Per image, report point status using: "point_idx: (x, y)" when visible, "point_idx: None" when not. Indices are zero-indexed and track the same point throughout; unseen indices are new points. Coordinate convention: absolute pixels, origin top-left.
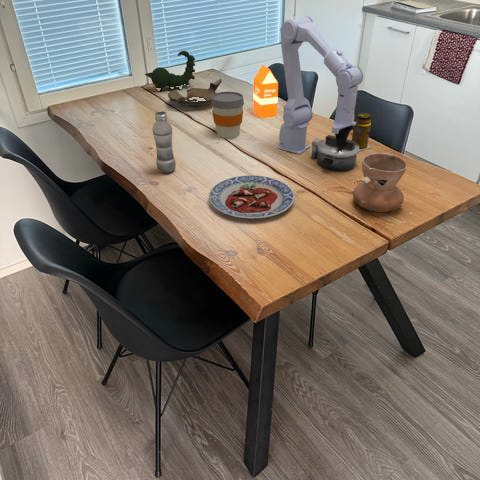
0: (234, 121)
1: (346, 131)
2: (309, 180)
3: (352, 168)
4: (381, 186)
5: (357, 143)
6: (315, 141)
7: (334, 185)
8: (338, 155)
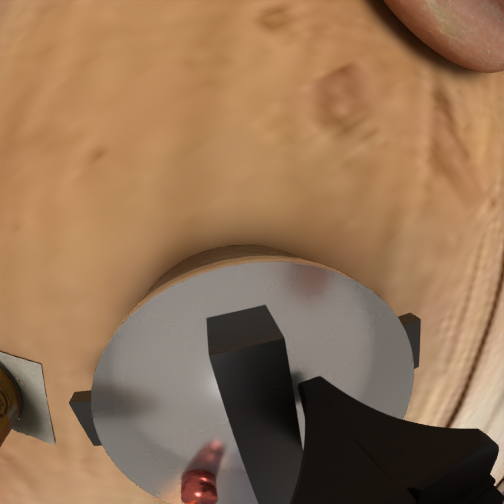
0: None
1: (495, 447)
2: (462, 305)
3: (233, 246)
4: None
5: (3, 396)
6: None
7: (444, 198)
8: (397, 322)
